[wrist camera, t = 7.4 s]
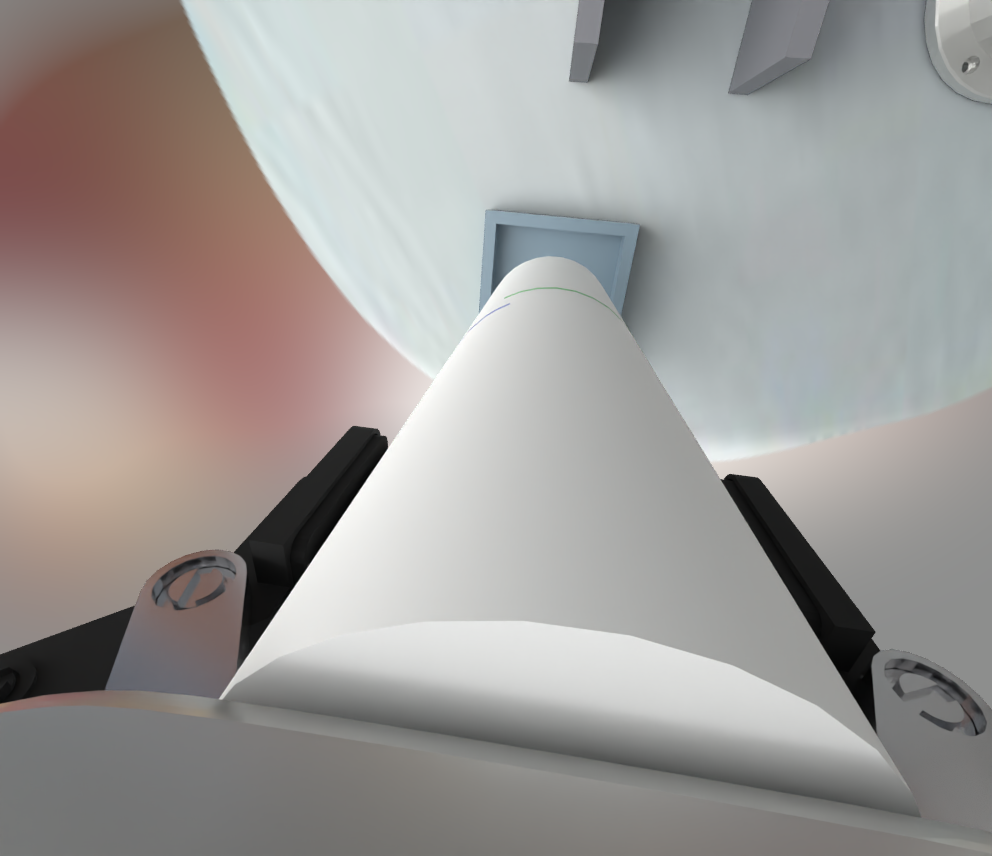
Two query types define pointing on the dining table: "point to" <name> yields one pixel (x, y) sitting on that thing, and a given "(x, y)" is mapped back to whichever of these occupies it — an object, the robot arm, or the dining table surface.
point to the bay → (764, 48)
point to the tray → (558, 248)
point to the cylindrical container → (566, 576)
